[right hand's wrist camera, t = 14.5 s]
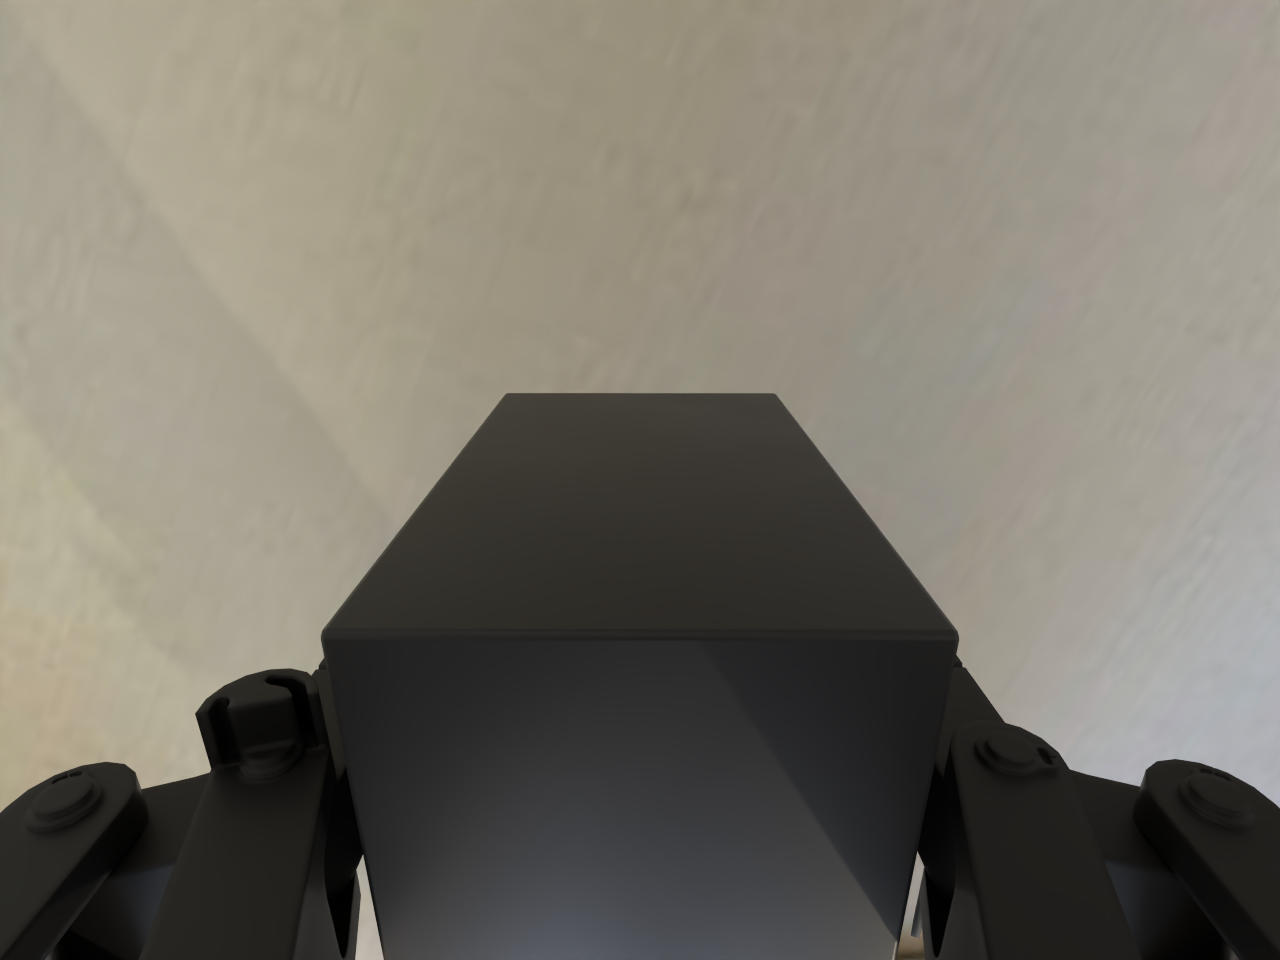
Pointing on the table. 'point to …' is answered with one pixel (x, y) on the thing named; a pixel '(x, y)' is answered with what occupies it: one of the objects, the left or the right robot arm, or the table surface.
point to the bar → (640, 694)
